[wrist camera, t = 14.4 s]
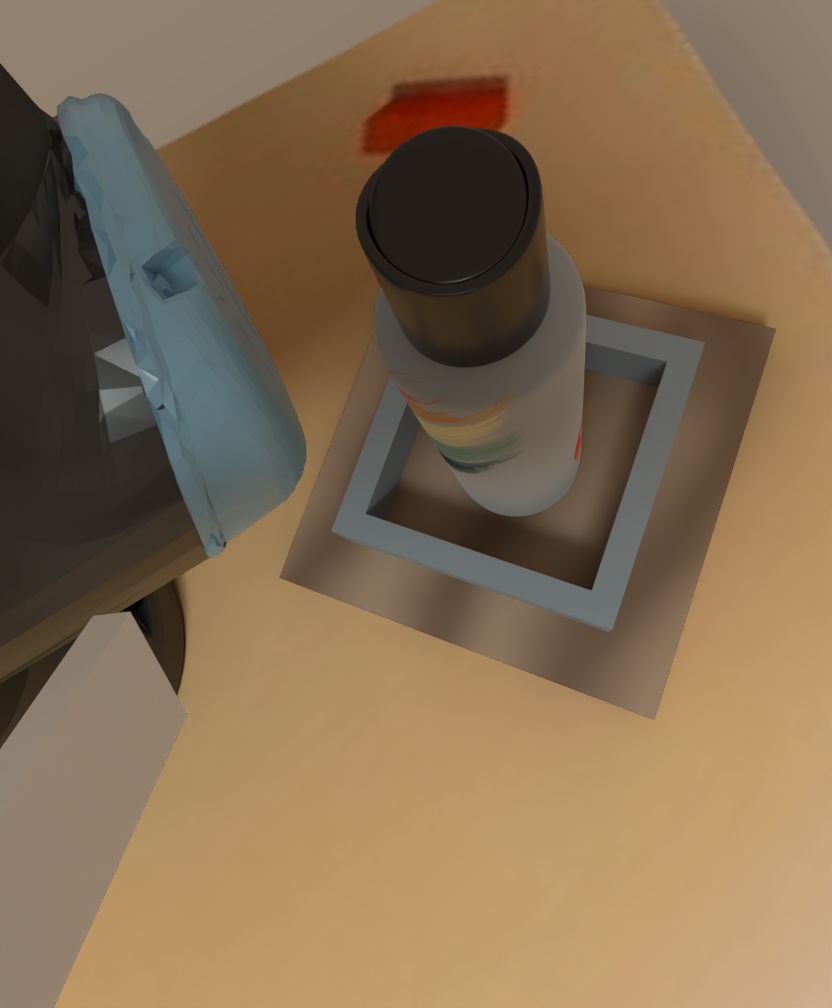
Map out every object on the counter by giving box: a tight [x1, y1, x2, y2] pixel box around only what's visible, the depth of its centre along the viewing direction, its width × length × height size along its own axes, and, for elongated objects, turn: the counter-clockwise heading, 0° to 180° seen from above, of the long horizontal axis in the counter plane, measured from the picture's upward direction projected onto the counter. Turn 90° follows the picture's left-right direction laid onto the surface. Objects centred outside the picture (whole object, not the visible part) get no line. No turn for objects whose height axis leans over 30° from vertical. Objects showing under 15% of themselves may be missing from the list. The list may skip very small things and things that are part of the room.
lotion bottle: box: [356, 126, 586, 516], centre depth 24 cm, size 6×6×20 cm
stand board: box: [279, 286, 776, 720], centre depth 34 cm, size 18×18×2 cm
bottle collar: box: [331, 314, 705, 632], centre depth 32 cm, size 12×12×3 cm
